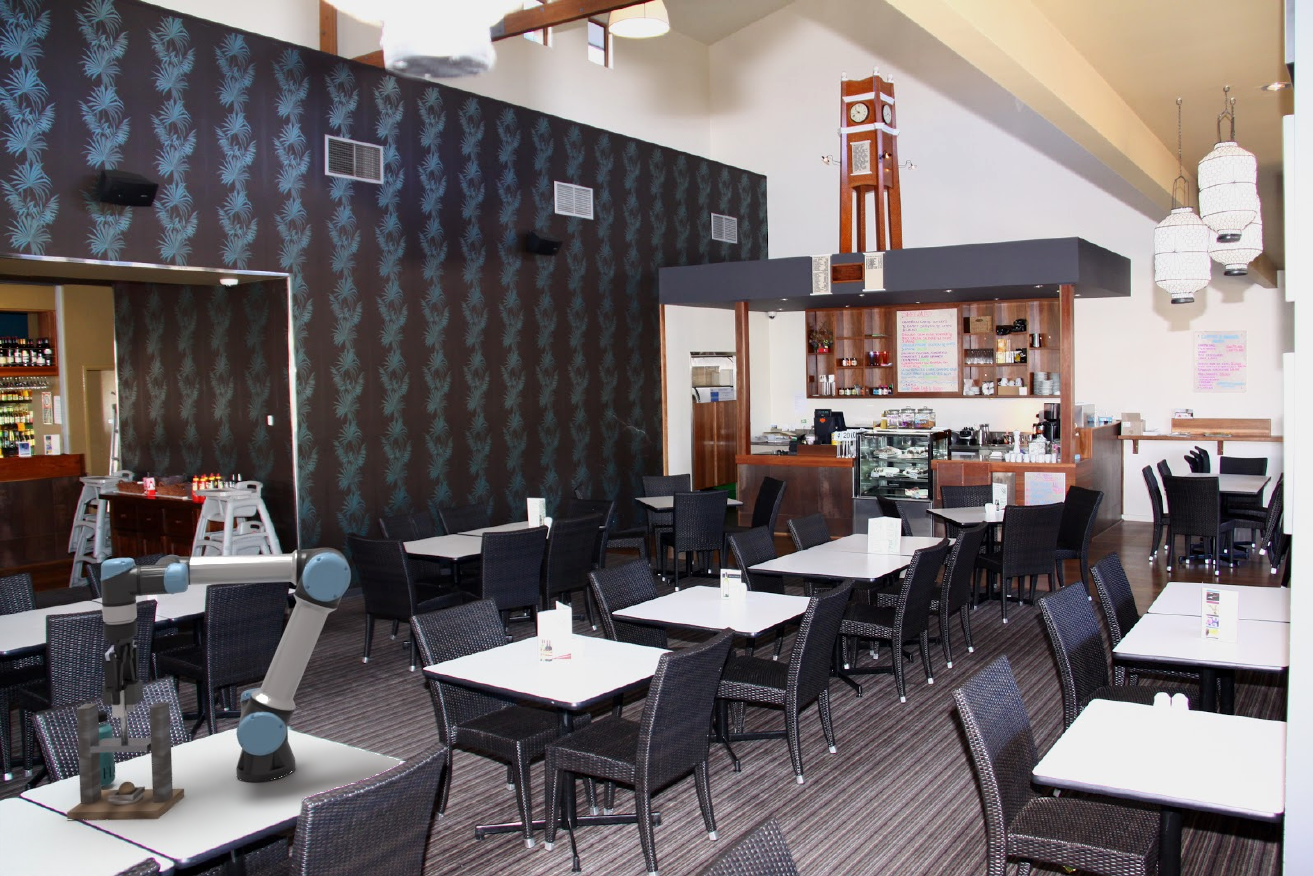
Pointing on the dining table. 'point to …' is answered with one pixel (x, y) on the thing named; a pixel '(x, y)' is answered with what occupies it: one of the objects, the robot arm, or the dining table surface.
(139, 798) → the press frame
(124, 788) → the walnut
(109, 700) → the crusher
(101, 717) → the beverage bottle
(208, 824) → the dining table surface
